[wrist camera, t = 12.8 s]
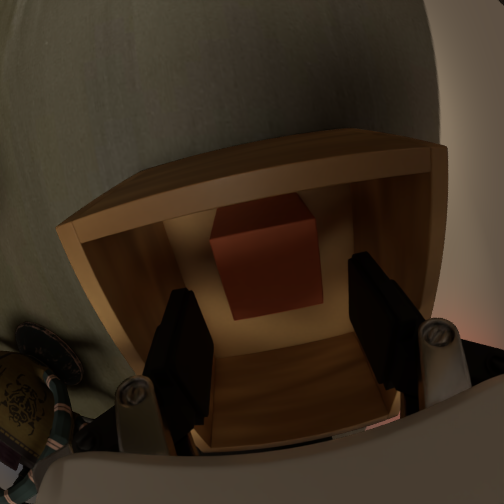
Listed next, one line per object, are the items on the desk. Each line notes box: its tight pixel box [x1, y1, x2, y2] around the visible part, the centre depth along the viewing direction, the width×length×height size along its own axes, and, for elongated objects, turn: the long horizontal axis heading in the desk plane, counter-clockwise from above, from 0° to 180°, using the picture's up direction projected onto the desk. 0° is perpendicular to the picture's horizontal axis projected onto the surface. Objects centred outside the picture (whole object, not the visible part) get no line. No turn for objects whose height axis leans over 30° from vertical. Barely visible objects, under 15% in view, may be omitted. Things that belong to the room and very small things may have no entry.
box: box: [56, 128, 448, 453], centre depth 14 cm, size 16×13×9 cm
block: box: [209, 192, 324, 321], centre depth 14 cm, size 4×4×4 cm
